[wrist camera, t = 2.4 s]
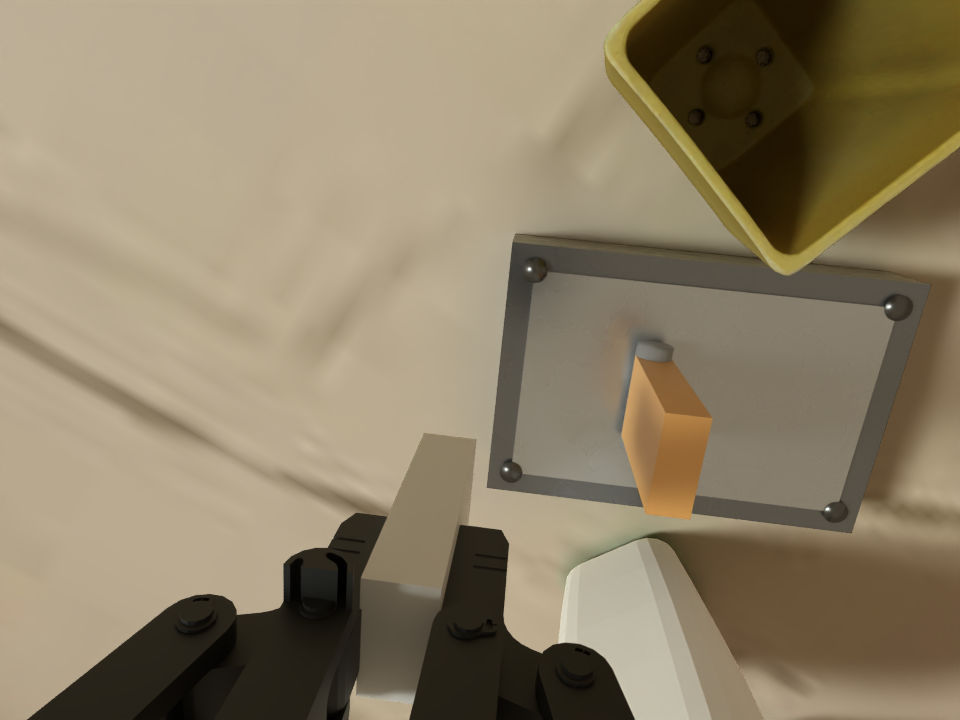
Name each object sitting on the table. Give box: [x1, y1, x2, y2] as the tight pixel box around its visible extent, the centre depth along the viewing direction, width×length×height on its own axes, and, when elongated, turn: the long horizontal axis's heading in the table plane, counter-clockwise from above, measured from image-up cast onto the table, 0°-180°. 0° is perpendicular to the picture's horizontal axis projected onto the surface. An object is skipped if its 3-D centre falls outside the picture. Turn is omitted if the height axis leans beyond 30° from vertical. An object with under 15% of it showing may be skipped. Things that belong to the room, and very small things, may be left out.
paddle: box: [619, 340, 713, 520], centre depth 22 cm, size 4×1×7 cm, turn 175°
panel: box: [487, 234, 931, 533], centre depth 27 cm, size 11×16×3 cm
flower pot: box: [604, 0, 960, 276], centre depth 20 cm, size 9×9×9 cm
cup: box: [558, 538, 764, 720], centre depth 25 cm, size 7×7×15 cm
